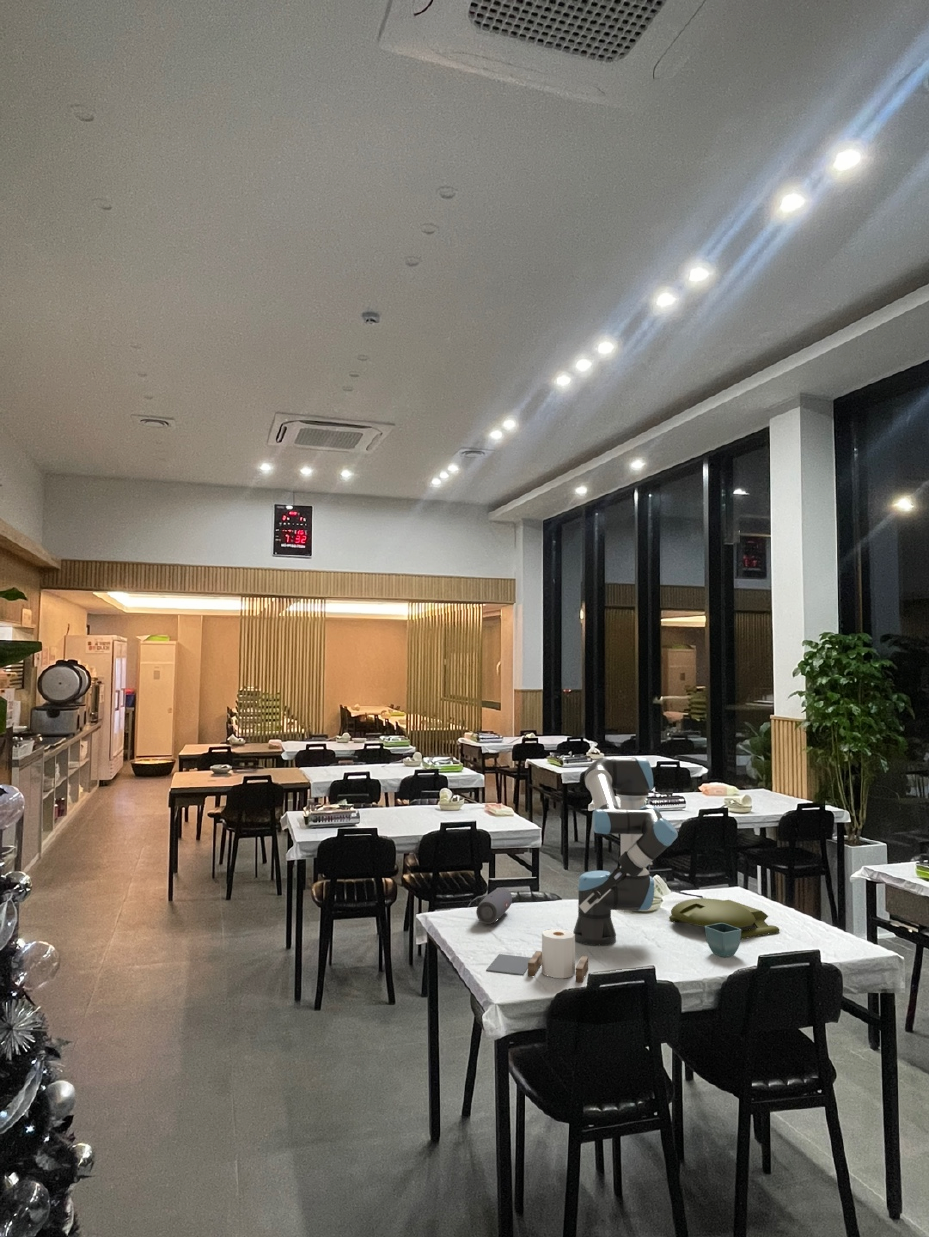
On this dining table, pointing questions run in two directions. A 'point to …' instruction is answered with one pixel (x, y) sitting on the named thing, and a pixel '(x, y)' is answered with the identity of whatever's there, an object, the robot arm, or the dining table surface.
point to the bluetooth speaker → (494, 905)
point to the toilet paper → (558, 953)
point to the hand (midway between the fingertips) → (588, 904)
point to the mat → (509, 964)
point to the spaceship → (722, 915)
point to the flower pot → (723, 939)
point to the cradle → (537, 962)
